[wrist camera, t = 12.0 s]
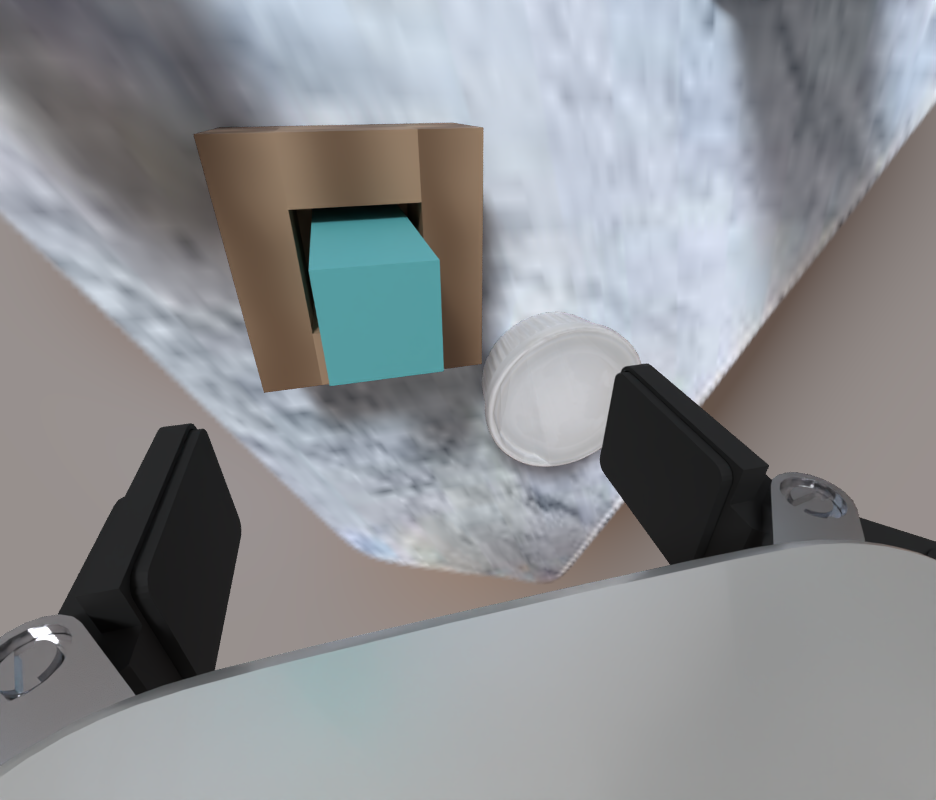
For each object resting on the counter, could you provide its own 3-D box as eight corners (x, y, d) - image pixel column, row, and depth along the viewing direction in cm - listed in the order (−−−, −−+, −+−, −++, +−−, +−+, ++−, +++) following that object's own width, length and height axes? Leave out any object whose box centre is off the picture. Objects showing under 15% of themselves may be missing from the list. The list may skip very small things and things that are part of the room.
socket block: (452, 122, 27) (483, 127, 22) (457, 324, 33) (481, 364, 28) (219, 127, 24) (193, 134, 19) (273, 345, 30) (264, 392, 25)
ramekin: (437, 382, 35) (454, 422, 31) (546, 264, 32) (581, 290, 28) (533, 449, 41) (558, 490, 37) (631, 354, 38) (671, 387, 34)
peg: (395, 202, 27) (439, 260, 17) (401, 280, 29) (443, 371, 19) (312, 206, 26) (308, 270, 16) (326, 287, 28) (329, 386, 18)
